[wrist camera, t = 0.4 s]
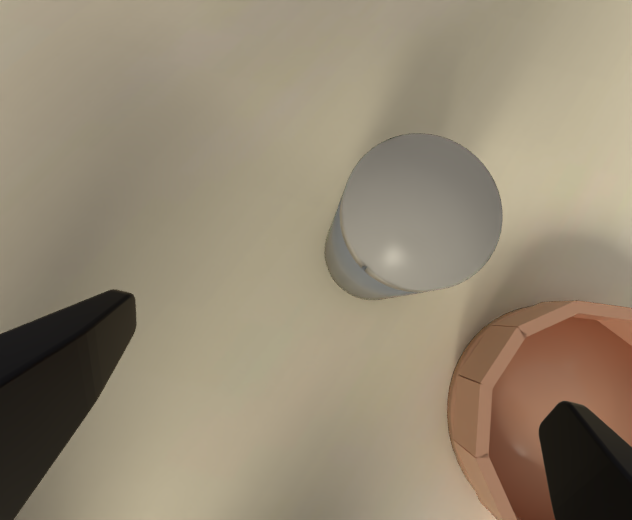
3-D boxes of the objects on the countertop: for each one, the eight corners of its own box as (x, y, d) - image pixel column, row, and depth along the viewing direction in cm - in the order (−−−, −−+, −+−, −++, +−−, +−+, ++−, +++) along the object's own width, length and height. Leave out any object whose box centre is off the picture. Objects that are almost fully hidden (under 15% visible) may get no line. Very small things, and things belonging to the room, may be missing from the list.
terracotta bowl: (700, 476, 21) (781, 509, 17) (507, 576, 19) (553, 634, 16) (596, 273, 22) (652, 265, 18) (411, 355, 21) (434, 364, 17)
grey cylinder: (434, 278, 21) (529, 253, 13) (347, 314, 21) (382, 316, 12) (395, 192, 22) (460, 111, 13) (309, 226, 22) (317, 165, 13)
